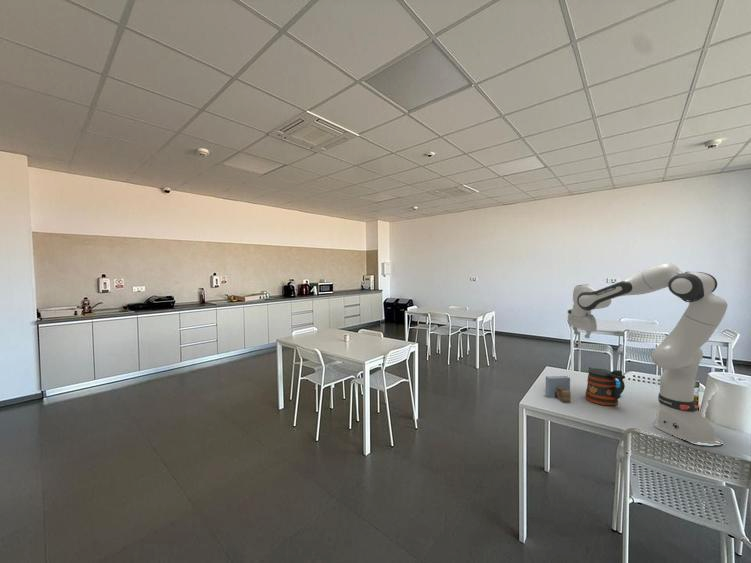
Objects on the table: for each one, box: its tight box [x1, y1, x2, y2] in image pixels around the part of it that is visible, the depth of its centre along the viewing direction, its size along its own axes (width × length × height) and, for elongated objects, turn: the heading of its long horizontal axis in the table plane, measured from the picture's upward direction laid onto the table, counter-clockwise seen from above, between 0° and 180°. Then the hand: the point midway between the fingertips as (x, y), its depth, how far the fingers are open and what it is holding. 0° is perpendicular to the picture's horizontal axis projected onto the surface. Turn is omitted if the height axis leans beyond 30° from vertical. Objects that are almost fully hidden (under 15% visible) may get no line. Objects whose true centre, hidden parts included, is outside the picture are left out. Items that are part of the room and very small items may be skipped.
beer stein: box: [585, 367, 626, 407], centre depth 167 cm, size 19×15×20 cm
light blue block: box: [545, 375, 571, 398], centre depth 176 cm, size 12×4×11 cm, turn 89°
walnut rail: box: [555, 387, 571, 404], centre depth 177 cm, size 18×4×6 cm, turn 179°
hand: (581, 336), depth 177 cm, fingers open, 8 cm apart
